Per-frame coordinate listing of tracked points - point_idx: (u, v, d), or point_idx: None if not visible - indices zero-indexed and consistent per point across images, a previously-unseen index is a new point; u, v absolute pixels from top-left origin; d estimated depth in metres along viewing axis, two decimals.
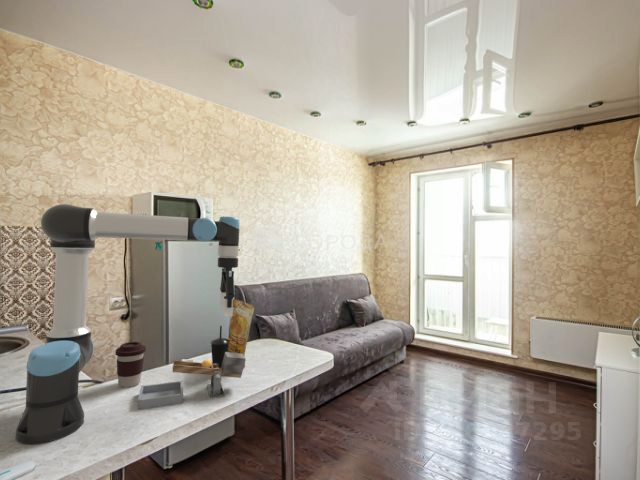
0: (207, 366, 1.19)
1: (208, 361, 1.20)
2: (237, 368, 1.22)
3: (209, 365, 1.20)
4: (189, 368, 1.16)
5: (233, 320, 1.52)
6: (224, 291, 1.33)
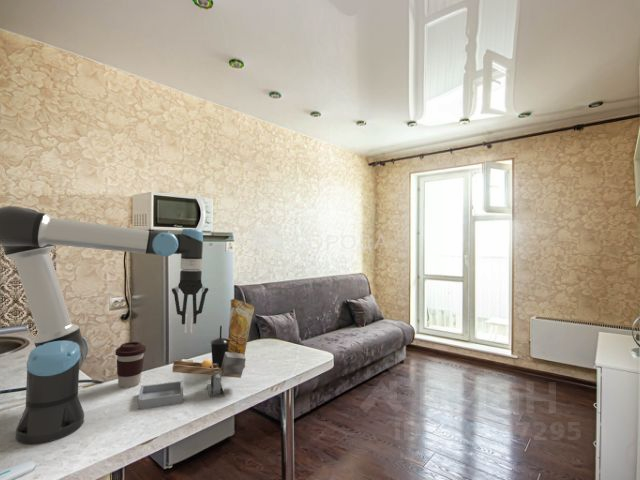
0: (207, 366, 1.19)
1: (208, 361, 1.20)
2: (237, 368, 1.22)
3: (209, 365, 1.20)
4: (189, 368, 1.16)
5: (233, 320, 1.52)
6: (193, 312, 1.25)
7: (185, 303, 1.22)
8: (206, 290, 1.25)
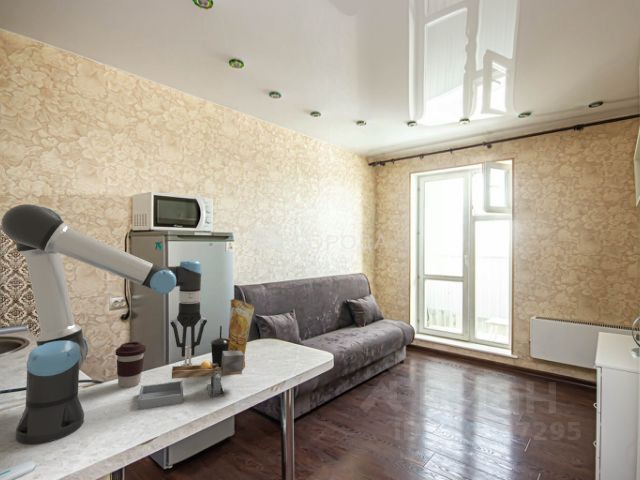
0: (206, 368, 1.19)
1: (206, 363, 1.20)
2: (237, 365, 1.22)
3: (208, 366, 1.19)
4: (188, 372, 1.16)
5: (233, 320, 1.52)
6: (191, 344, 1.24)
7: (184, 335, 1.22)
8: (205, 322, 1.25)
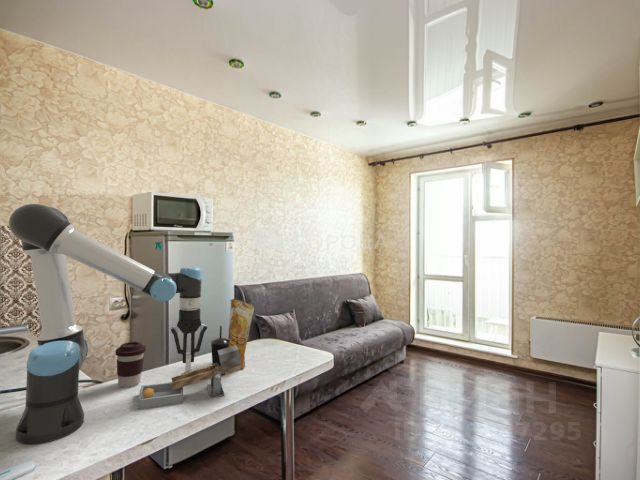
0: (147, 396, 1.11)
1: (152, 393, 1.13)
2: (234, 361, 1.22)
3: (149, 397, 1.12)
4: (187, 380, 1.16)
5: (233, 320, 1.52)
6: None
7: (185, 342, 1.22)
8: (205, 328, 1.25)
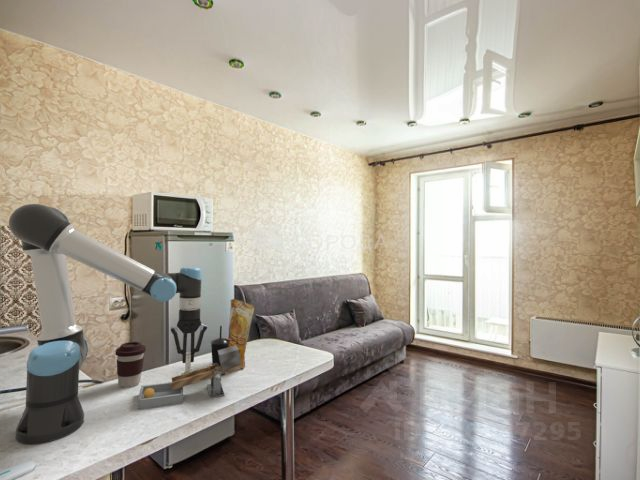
0: (148, 396, 1.12)
1: (153, 393, 1.13)
2: (234, 361, 1.22)
3: (149, 397, 1.12)
4: (187, 380, 1.16)
5: (233, 320, 1.52)
6: None
7: (185, 342, 1.22)
8: (205, 328, 1.25)
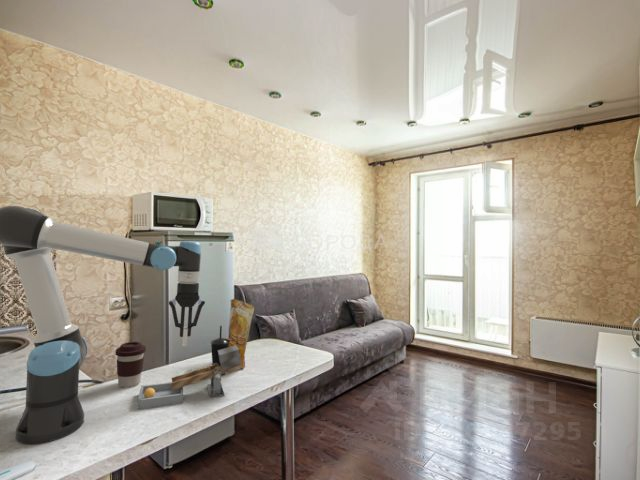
0: (148, 396, 1.12)
1: (153, 393, 1.13)
2: (234, 361, 1.22)
3: (150, 397, 1.12)
4: (187, 380, 1.16)
5: (233, 320, 1.52)
6: None
7: (183, 315, 1.22)
8: (202, 303, 1.25)
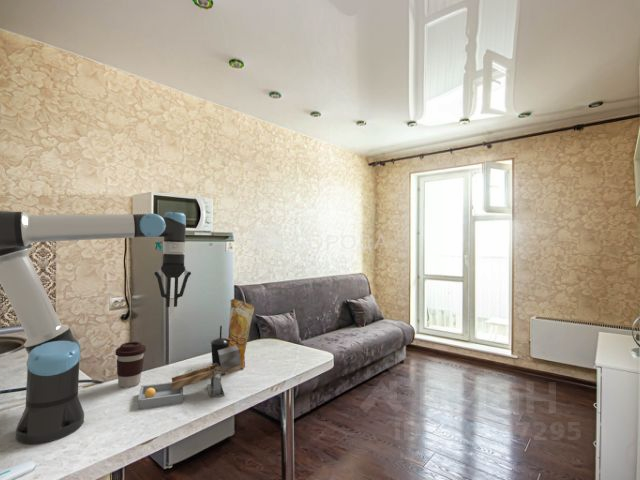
0: (149, 395, 1.12)
1: (154, 393, 1.13)
2: (234, 361, 1.22)
3: (150, 397, 1.12)
4: (187, 380, 1.16)
5: (233, 320, 1.52)
6: (174, 296, 1.25)
7: (169, 286, 1.23)
8: (188, 274, 1.26)
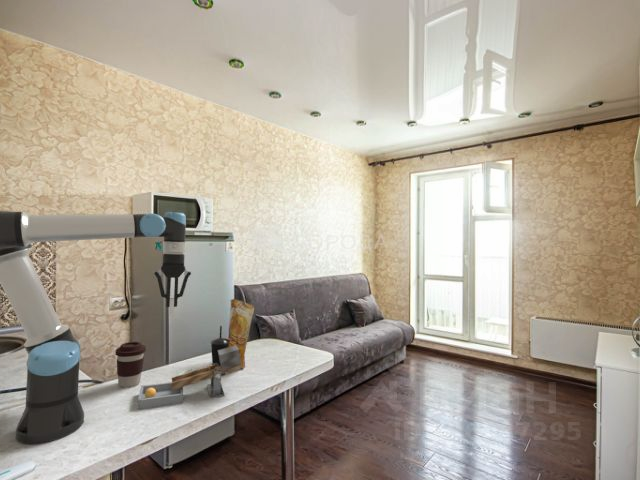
0: (149, 395, 1.12)
1: (154, 394, 1.13)
2: (234, 361, 1.22)
3: (150, 397, 1.12)
4: (187, 380, 1.16)
5: (233, 320, 1.52)
6: (174, 296, 1.25)
7: (169, 286, 1.23)
8: (188, 274, 1.26)
